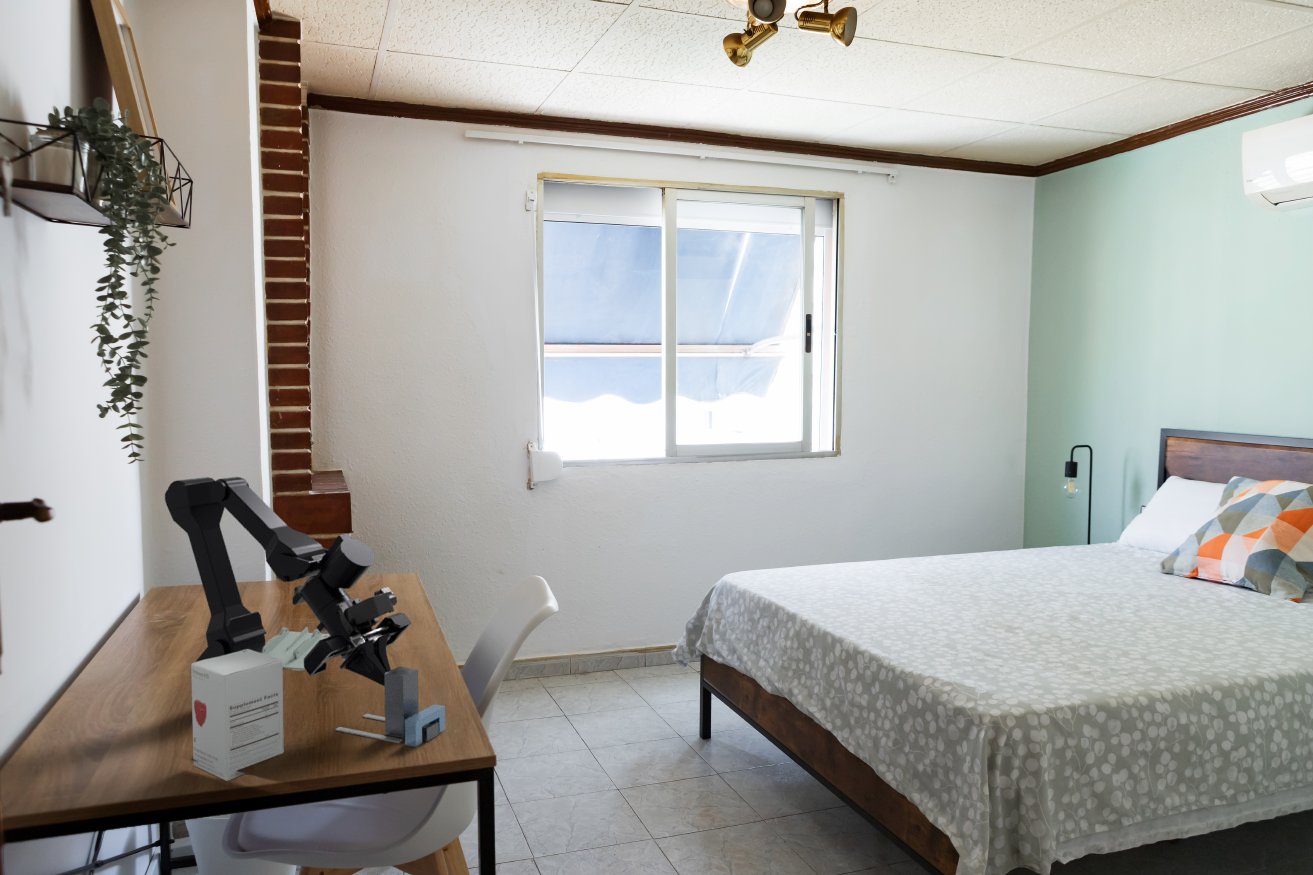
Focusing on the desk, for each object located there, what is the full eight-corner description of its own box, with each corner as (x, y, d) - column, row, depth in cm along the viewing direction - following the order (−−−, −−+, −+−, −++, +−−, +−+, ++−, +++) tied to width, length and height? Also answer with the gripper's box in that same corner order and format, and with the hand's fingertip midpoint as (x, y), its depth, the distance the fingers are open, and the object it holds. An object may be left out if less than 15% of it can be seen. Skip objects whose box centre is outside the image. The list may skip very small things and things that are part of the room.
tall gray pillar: (385, 734, 134) (384, 673, 133) (400, 726, 137) (399, 666, 136) (425, 742, 131) (424, 679, 130) (440, 733, 134) (439, 672, 134)
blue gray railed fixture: (333, 737, 135) (332, 706, 135) (366, 720, 142) (366, 691, 142) (415, 754, 129) (414, 722, 129) (446, 735, 136) (445, 705, 136)
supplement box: (190, 766, 125) (188, 662, 124) (250, 745, 132) (248, 647, 131) (225, 782, 120) (223, 674, 119) (285, 759, 127) (284, 658, 126)
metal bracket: (274, 620, 182) (340, 624, 179) (279, 644, 184) (344, 649, 181) (229, 659, 169) (300, 665, 166) (236, 685, 171) (305, 691, 168)
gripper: (316, 586, 128) (378, 670, 124) (401, 563, 145) (457, 636, 141) (277, 634, 131) (336, 717, 128) (364, 606, 148) (418, 678, 145)
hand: (391, 685), depth 135 cm, fingers closed, pressing on tall gray pillar
